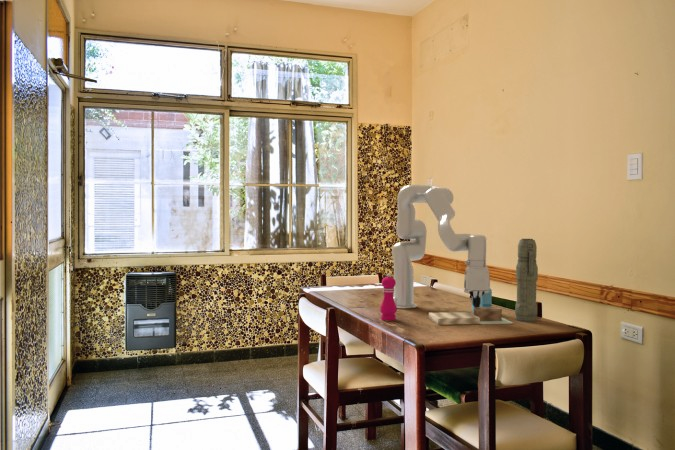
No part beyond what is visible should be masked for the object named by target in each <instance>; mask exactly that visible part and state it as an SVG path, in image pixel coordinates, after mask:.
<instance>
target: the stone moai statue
mask: <svg viewBox="0 0 675 450" xmlns="http://www.w3.org/2000/svg"><path fill="white" fill-rule="evenodd" d="M537 246H538V245H537V243H536V240H535V239H533V238H521V239H519V241H518V244H517V263H516V266H515V279H516V302H515V304H514V305H515V308H514V309H515V310H514V311H515V312H514V314H515V321H518V322H521V323H522V322H523V323H524V322H525V323H535V322H537V321H538V319H537V316H538V303H537V281H538V280H539V279H538V278H539V276H538V275H539V274H538V273H539V269H538V264H537V251H538V250H537Z"/></svg>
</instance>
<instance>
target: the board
mask: <svg viewBox="0 0 675 450" xmlns="http://www.w3.org/2000/svg"><path fill="white" fill-rule="evenodd" d="M428 319H429V320H430V321H432V322H433V323H435V324H436V325H438V326H440V325H442V326H443V325H446V326H447V325H481V324H480V318H479V317H477V316H475V315H474V313H471V312H469V311H453V312H447V311H446V312H445V311H444V312H428Z"/></svg>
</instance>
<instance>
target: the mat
mask: <svg viewBox="0 0 675 450" xmlns="http://www.w3.org/2000/svg"><path fill="white" fill-rule="evenodd" d="M502 324H504V325H505V324H506V325H508V324H509V325H510V324H511V325H512V324H514V323H513V321H510V320H508V319H506V318H503V317H502V321H480V324H479V325H502Z"/></svg>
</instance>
